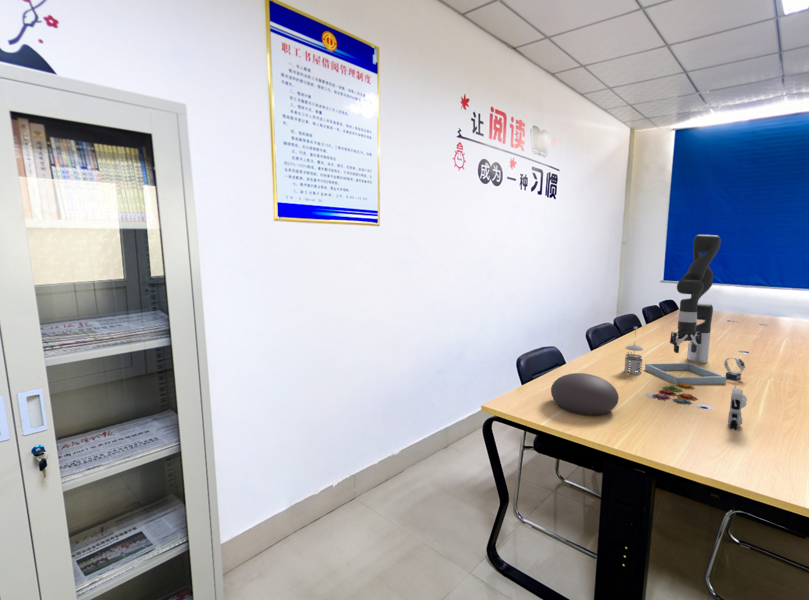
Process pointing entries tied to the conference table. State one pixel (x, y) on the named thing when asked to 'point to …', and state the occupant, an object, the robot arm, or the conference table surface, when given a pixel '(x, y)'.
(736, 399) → the robot toy
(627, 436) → the conference table surface
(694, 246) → the robot arm
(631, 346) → the french press
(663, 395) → the gear puzzle
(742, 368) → the watch
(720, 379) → the grey flat square frame
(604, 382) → the smooth stone
